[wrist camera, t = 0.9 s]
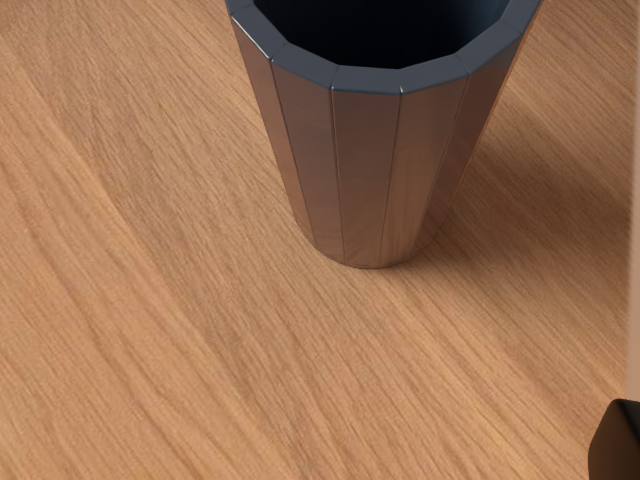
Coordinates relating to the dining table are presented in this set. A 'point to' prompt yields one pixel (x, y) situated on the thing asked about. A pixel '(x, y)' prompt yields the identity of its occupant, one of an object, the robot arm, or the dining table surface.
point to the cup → (377, 109)
